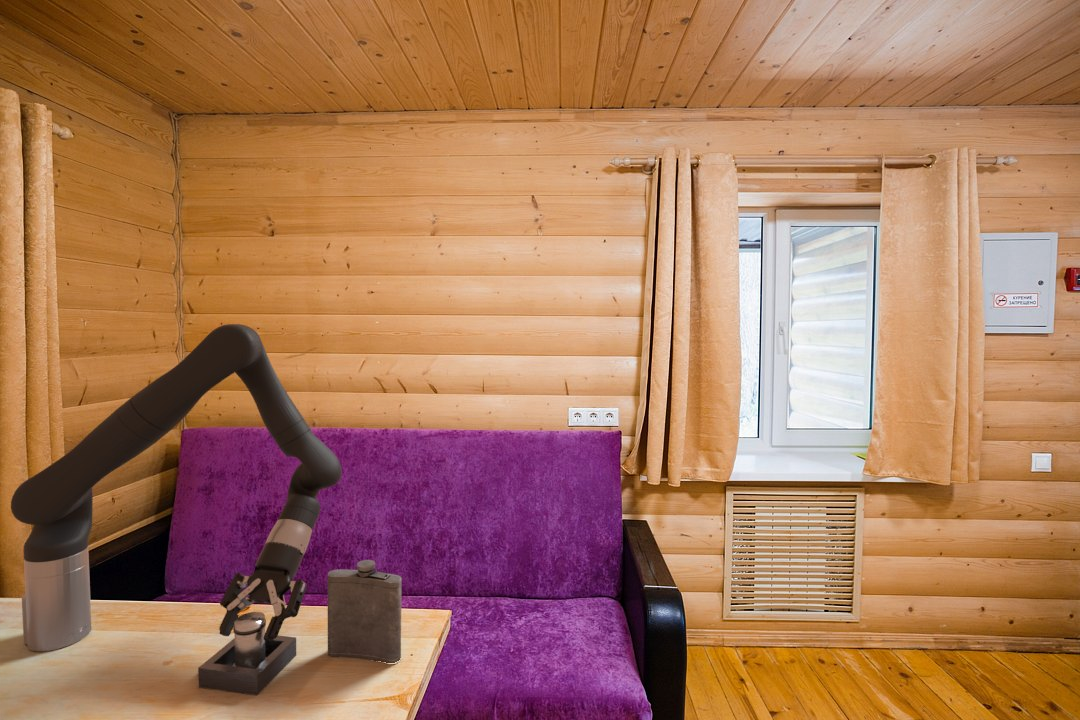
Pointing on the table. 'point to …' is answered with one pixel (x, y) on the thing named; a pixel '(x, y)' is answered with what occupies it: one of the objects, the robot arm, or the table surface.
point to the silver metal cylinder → (249, 640)
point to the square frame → (246, 680)
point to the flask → (364, 614)
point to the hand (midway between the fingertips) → (245, 638)
